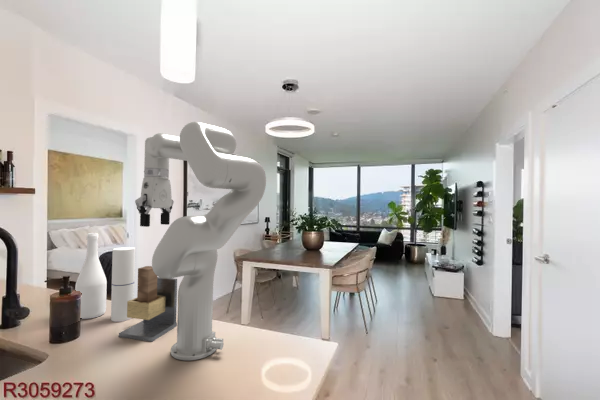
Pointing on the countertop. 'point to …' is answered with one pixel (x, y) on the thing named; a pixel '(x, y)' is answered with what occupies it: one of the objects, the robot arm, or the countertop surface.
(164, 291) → the cup bracket
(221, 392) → the countertop surface
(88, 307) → the wine bottle
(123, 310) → the cylindrical container
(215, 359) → the countertop surface
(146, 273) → the rail post
